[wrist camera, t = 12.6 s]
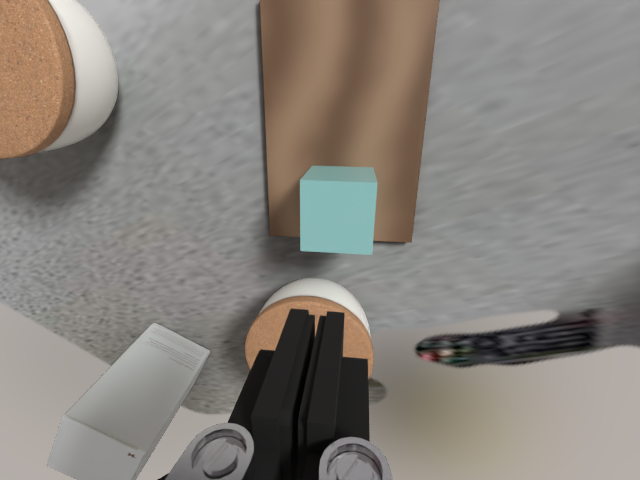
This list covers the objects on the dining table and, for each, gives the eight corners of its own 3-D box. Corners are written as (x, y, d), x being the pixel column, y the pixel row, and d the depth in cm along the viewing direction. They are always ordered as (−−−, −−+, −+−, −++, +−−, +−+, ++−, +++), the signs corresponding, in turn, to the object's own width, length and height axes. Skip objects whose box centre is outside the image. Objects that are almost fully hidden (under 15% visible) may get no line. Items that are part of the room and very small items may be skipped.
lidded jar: (345, 244, 32) (340, 294, 23) (386, 333, 35) (395, 406, 26) (249, 281, 35) (212, 339, 26) (295, 361, 38) (276, 436, 29)
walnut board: (438, -6, 24) (440, -10, 24) (410, 239, 31) (411, 242, 31) (262, -3, 26) (259, -6, 25) (272, 232, 32) (270, 235, 32)
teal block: (373, 167, 29) (377, 182, 22) (369, 225, 30) (372, 254, 24) (312, 165, 29) (299, 180, 23) (311, 223, 31) (300, 250, 25)
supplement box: (153, 319, 38) (61, 413, 26) (212, 350, 38) (148, 455, 27) (134, 363, 40) (42, 466, 29) (189, 391, 41) (122, 504, 29)
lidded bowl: (23, 137, 32) (-136, 149, 21) (-8, -26, 27) (-230, -109, 17) (152, 154, 31) (51, 176, 21) (142, -9, 26) (6, -85, 16)
